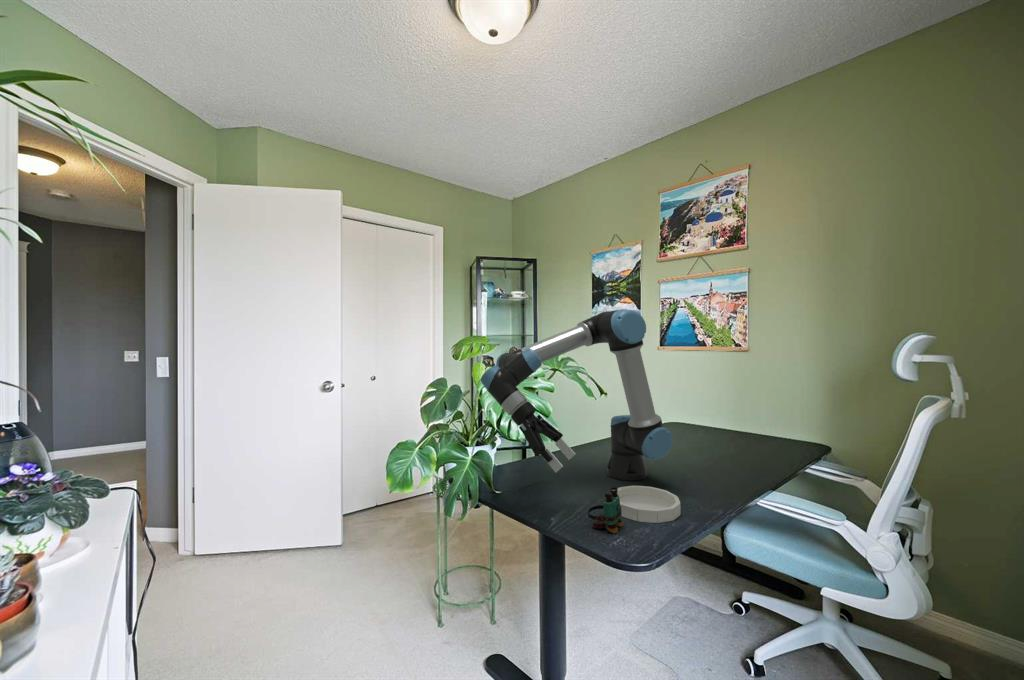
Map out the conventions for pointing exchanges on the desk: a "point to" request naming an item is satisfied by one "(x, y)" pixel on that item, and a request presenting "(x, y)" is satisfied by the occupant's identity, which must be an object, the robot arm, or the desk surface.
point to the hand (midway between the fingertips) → (566, 463)
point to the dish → (648, 504)
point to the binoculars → (608, 512)
